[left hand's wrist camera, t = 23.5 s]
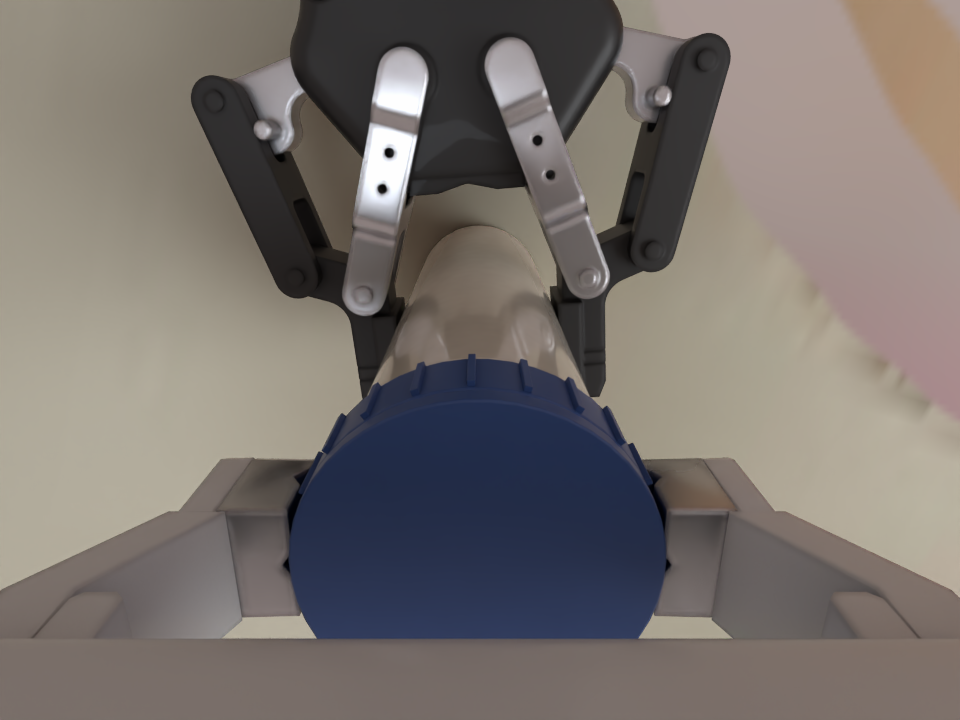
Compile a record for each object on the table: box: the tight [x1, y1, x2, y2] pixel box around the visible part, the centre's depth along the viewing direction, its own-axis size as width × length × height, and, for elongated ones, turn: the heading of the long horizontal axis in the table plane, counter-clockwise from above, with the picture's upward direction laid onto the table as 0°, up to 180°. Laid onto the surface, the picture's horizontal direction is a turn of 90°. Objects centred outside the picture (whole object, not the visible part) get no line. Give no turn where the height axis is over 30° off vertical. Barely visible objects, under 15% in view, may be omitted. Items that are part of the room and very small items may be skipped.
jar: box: [367, 225, 590, 397], centre depth 17 cm, size 5×5×17 cm
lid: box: [289, 354, 666, 639], centre depth 9 cm, size 5×5×2 cm
